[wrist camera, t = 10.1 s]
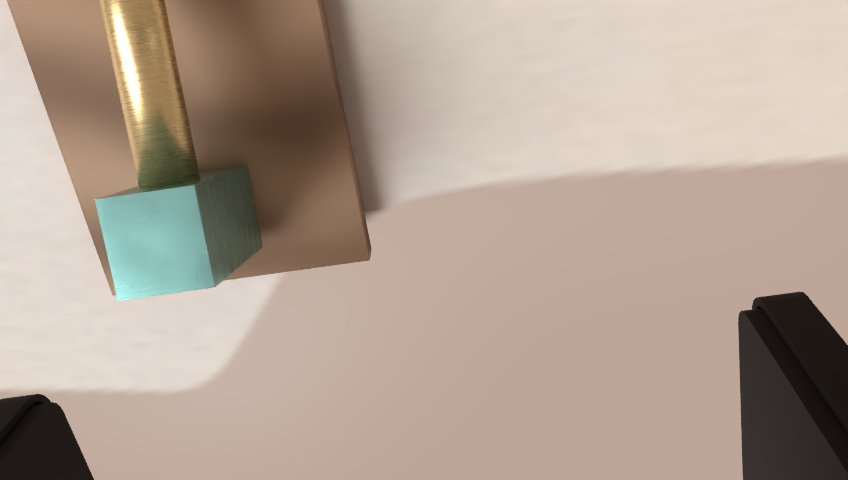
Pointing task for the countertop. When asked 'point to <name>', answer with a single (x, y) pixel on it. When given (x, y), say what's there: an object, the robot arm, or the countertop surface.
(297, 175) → the walnut board
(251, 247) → the brass rod with block
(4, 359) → the countertop surface
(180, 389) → the countertop surface
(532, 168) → the countertop surface
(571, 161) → the countertop surface
